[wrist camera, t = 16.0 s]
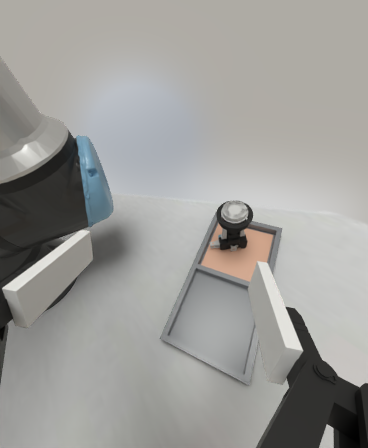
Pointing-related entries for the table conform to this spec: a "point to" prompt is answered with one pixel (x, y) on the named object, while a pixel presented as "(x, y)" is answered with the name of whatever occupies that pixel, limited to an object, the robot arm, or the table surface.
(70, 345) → the table surface
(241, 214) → the push button
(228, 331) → the sorting tray
